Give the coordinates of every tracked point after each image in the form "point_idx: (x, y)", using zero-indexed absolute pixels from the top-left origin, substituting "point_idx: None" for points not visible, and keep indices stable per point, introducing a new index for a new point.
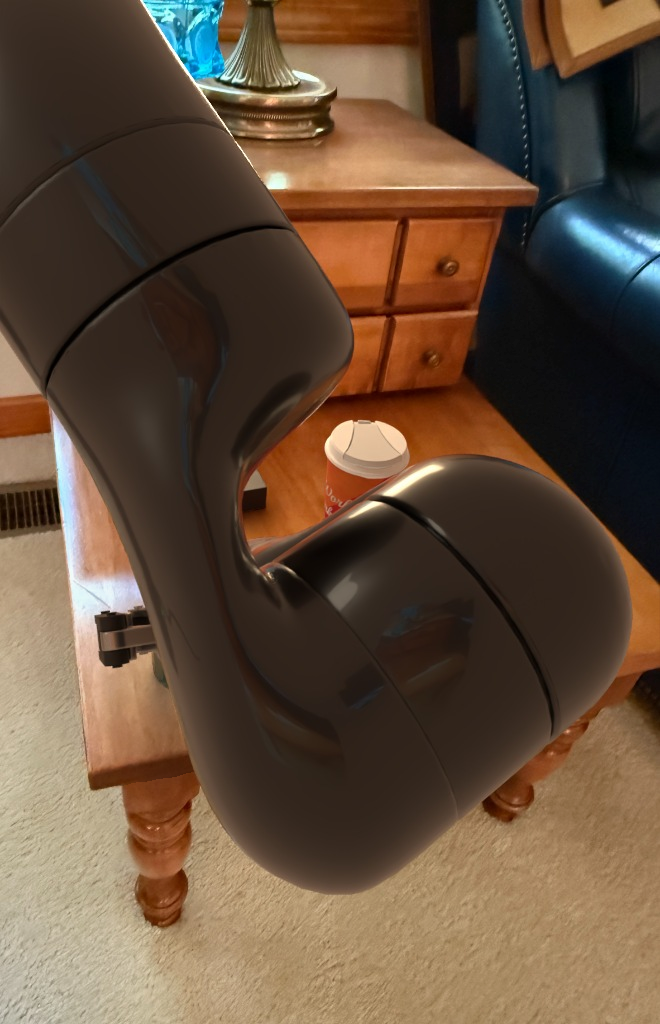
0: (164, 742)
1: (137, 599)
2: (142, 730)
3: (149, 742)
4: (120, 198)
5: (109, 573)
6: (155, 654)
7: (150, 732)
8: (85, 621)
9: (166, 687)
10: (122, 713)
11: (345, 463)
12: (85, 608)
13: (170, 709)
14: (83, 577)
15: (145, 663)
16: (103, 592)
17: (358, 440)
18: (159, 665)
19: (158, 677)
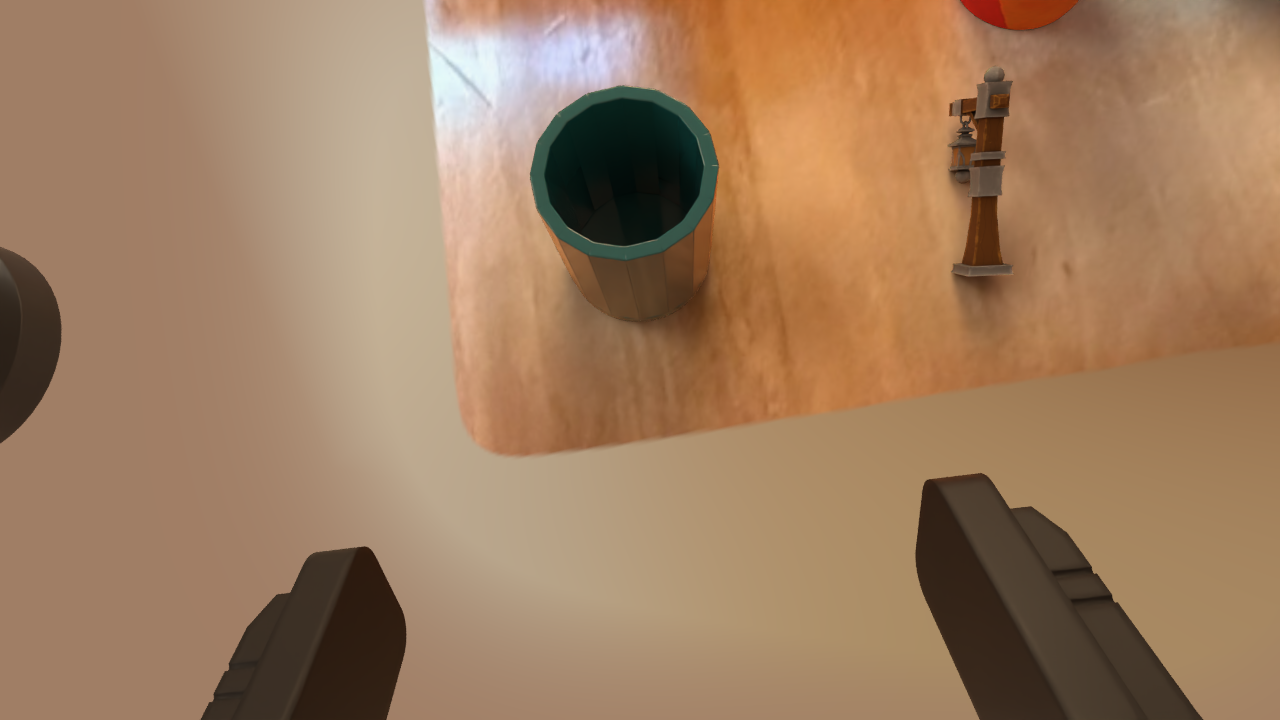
0: (587, 431)
1: (543, 86)
2: (547, 400)
3: (559, 429)
4: None
5: (489, 18)
6: (563, 260)
7: (561, 406)
8: (443, 138)
9: (594, 306)
10: (510, 359)
11: None
12: (443, 105)
13: (600, 357)
14: (439, 27)
15: None
16: (477, 66)
17: None
18: (574, 278)
19: (578, 287)
